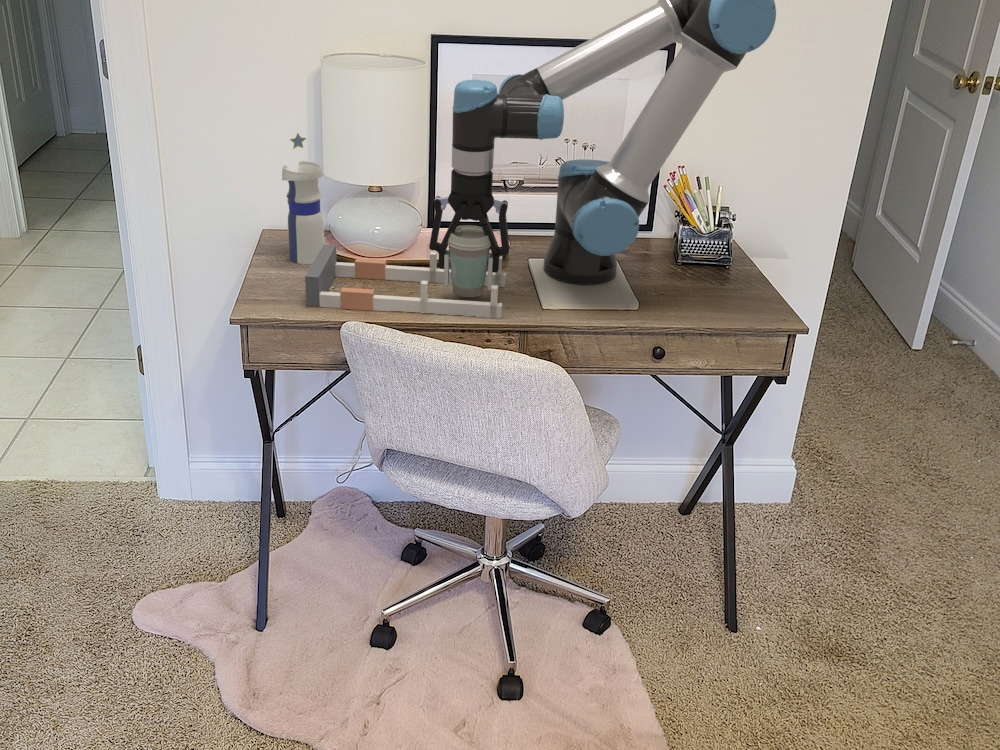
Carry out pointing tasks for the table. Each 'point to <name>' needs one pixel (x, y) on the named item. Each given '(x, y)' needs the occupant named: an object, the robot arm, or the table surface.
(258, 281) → the table surface
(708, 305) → the table surface
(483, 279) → the coffee cup
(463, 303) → the comb channel
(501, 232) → the robot arm
